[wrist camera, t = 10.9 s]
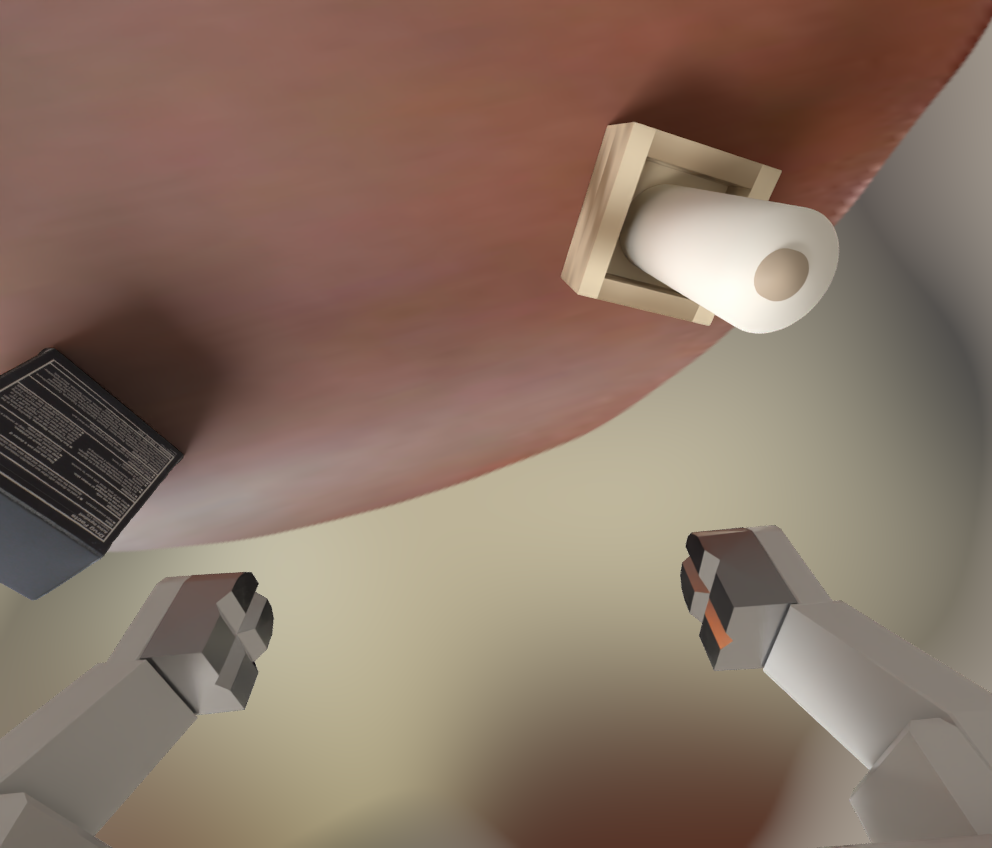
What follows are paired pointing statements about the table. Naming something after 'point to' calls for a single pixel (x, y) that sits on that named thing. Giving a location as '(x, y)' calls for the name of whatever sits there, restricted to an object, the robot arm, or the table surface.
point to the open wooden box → (618, 181)
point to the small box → (68, 472)
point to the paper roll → (733, 253)
